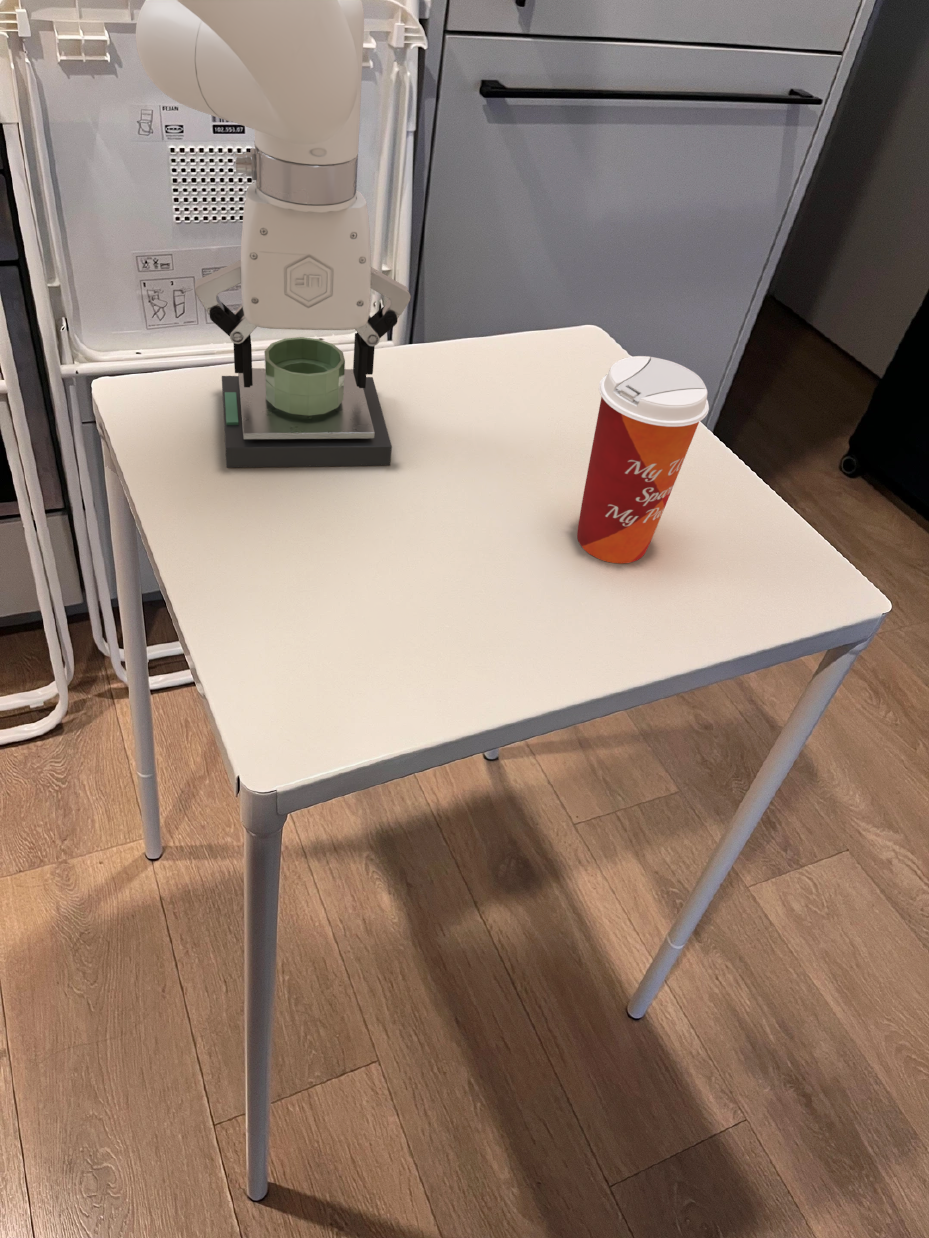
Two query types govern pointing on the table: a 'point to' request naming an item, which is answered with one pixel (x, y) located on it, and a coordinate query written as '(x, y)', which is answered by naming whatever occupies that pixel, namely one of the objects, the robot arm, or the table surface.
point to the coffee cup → (637, 453)
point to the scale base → (302, 449)
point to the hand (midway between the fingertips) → (304, 380)
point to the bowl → (304, 375)
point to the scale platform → (278, 424)
